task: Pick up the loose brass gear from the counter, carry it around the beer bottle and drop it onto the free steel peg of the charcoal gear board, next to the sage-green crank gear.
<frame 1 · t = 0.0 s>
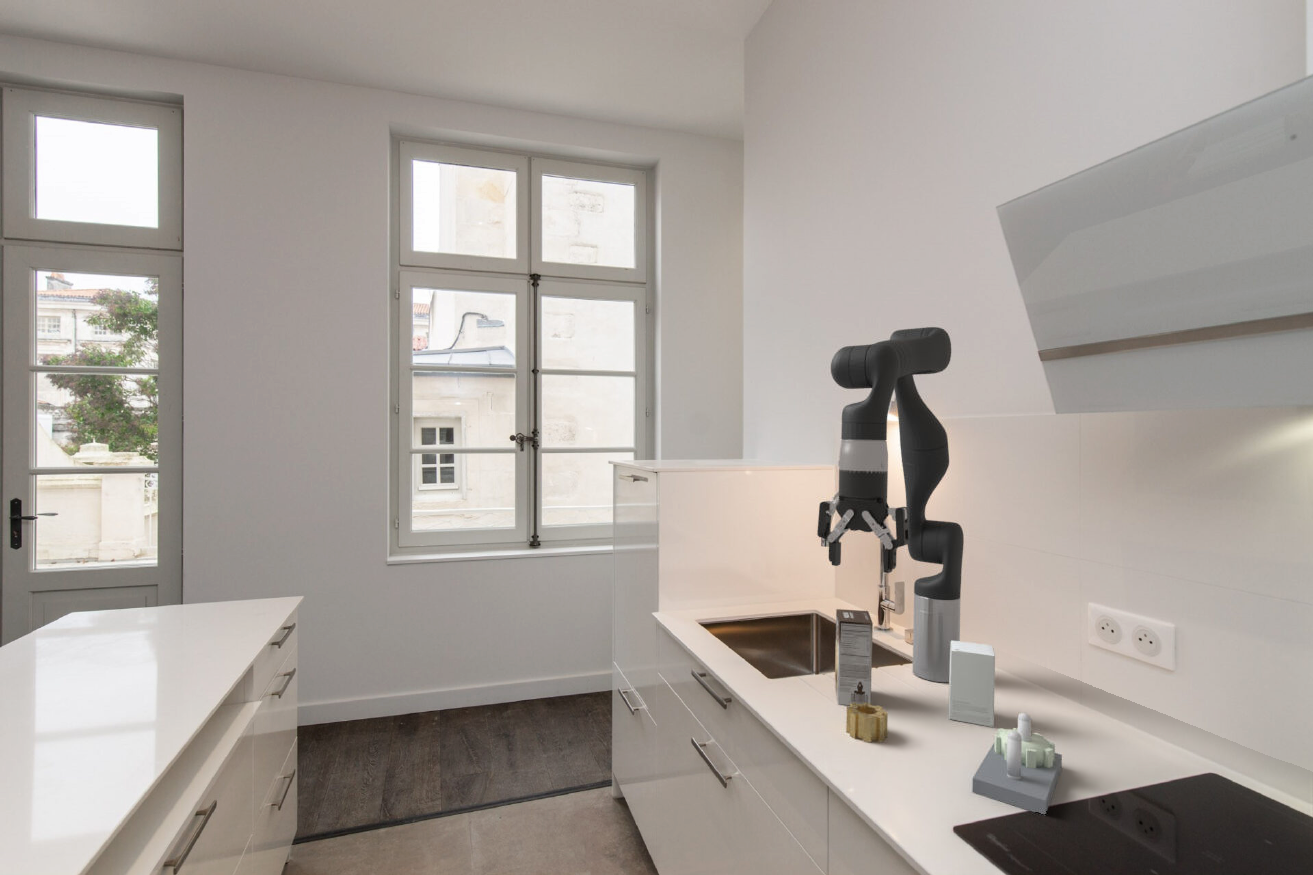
hand: (861, 568, 105), 29 cm above the counter, tool pointing down, fingers open, 8 cm apart
gear board: (1018, 779, 96), on the counter
supplement box: (970, 717, 119), on the counter
coffee box: (852, 698, 127), on the counter
brass gear: (866, 733, 111), on the counter
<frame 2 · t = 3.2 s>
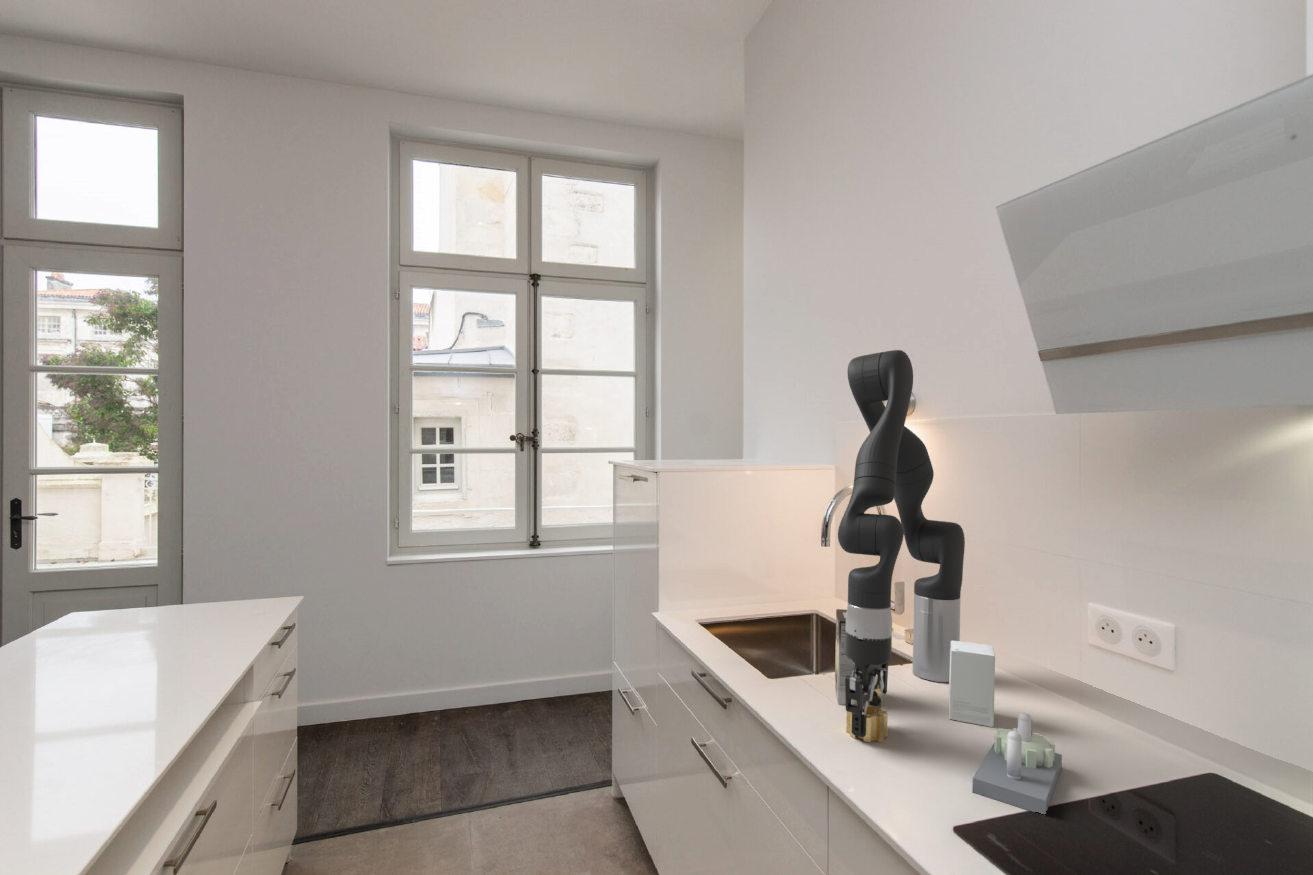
hand: (866, 728, 111), 1 cm above the counter, tool pointing down, fingers closed on brass gear, 6 cm apart
brass gear: (866, 733, 111), on the counter, touching gripper
everything else where it was.
when the fingers open (5 cm above the counter, at t = 12.1 s): brass gear drops 3 cm, resting on gear board.
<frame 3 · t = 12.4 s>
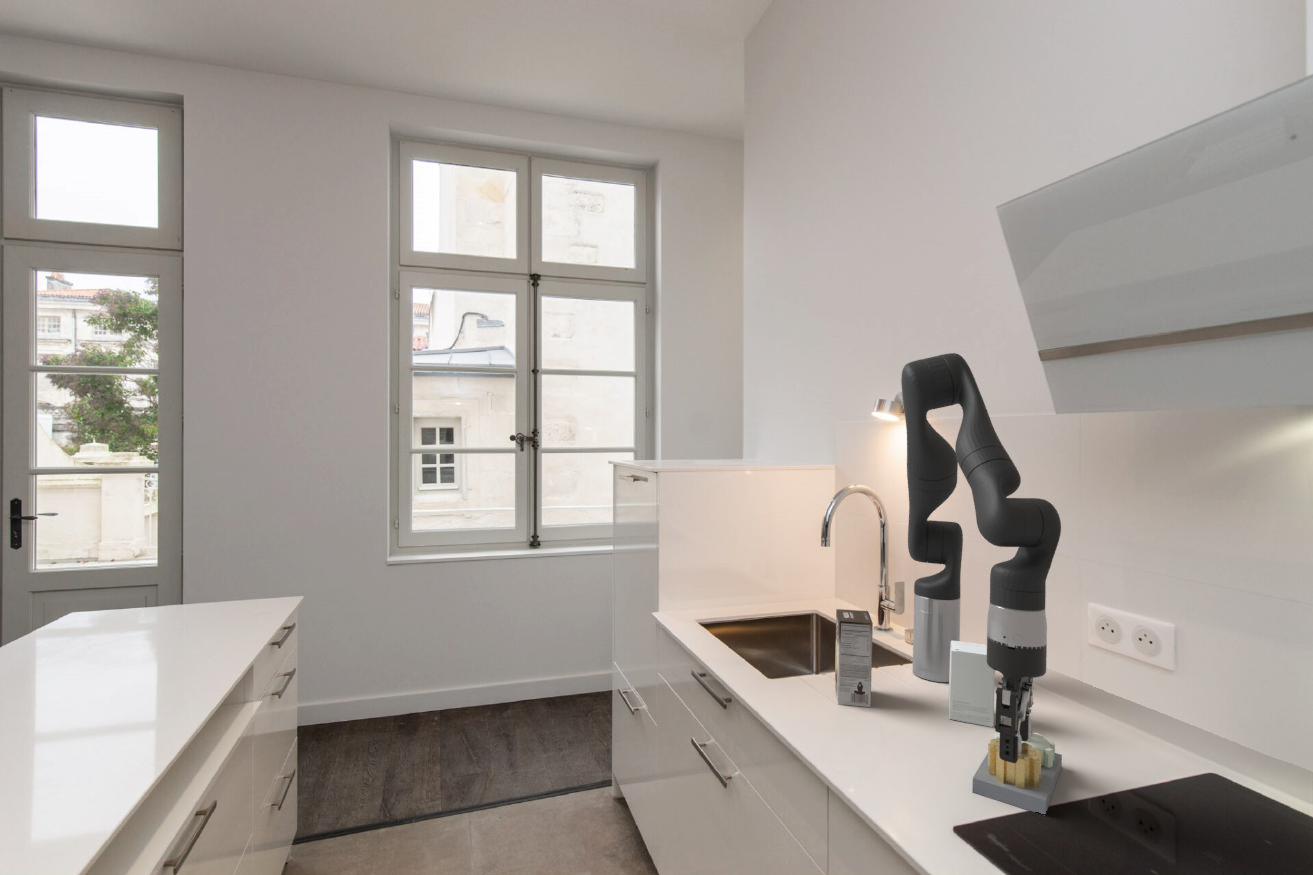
hand: (1014, 749, 93), 6 cm above the counter, tool pointing down, fingers open, 8 cm apart
brass gear: (1013, 776, 93), point 2 cm above the counter, touching gear board
everything else where it was.
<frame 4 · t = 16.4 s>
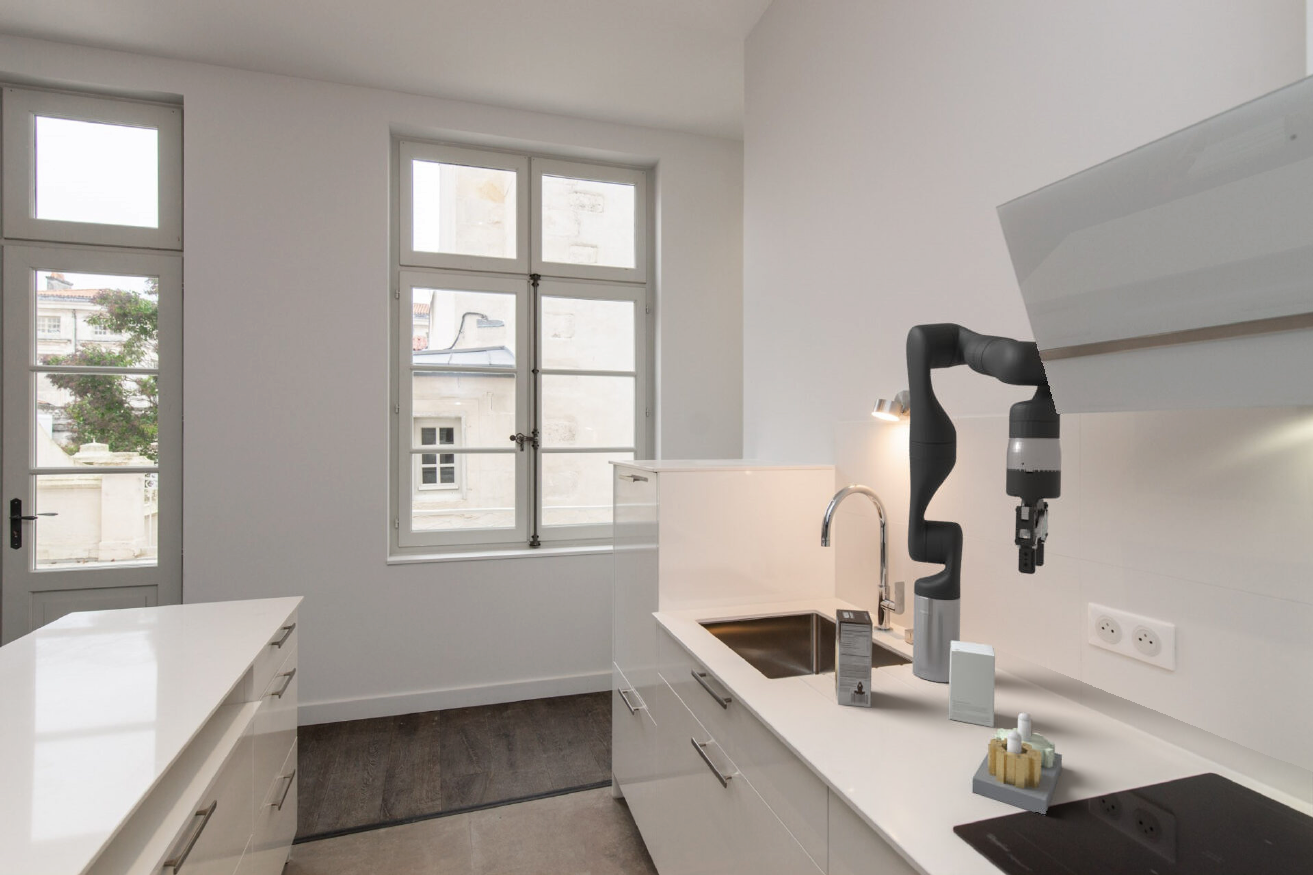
hand: (1031, 569, 103), 30 cm above the counter, tool pointing down, fingers open, 8 cm apart
nothing on the counter moved.
at the end: brass gear 0.2 cm from the target spot on the gear board, point 2.0 cm above the gear board's base; the gripper is holding nothing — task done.
